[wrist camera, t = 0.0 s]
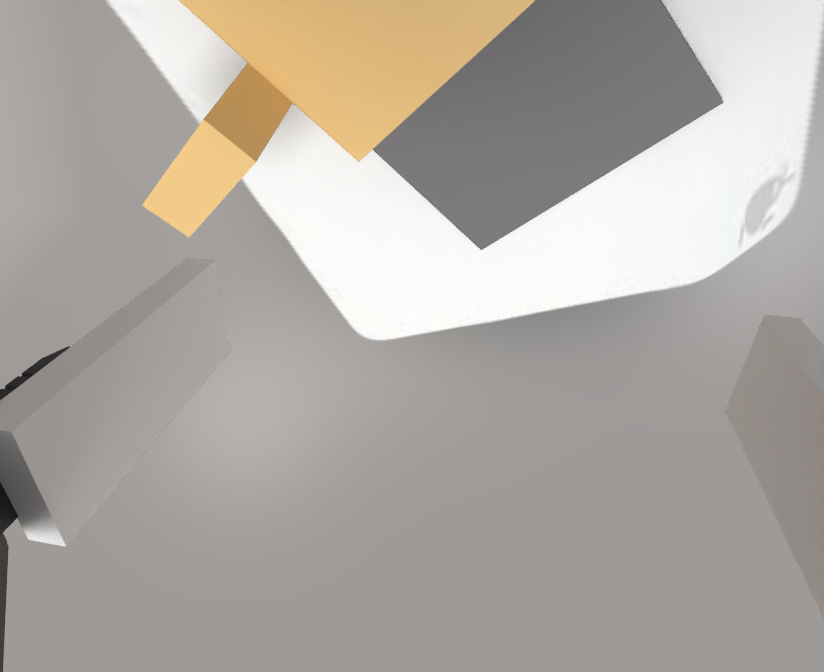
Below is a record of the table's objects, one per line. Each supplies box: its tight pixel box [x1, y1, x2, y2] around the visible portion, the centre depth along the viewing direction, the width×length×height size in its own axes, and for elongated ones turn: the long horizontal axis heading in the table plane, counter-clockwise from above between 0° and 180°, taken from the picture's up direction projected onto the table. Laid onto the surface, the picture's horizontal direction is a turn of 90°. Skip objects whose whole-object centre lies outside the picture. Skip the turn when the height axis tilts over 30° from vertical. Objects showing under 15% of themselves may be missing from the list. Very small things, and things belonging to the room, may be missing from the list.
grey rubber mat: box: [373, 0, 723, 250], centre depth 38 cm, size 20×14×1 cm
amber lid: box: [143, 0, 535, 237], centre depth 26 cm, size 27×13×8 cm, turn 136°
